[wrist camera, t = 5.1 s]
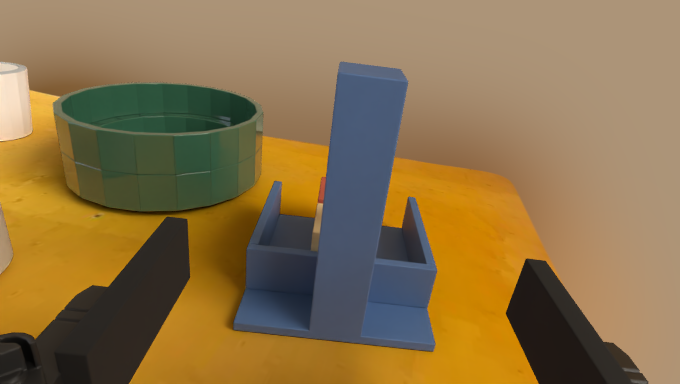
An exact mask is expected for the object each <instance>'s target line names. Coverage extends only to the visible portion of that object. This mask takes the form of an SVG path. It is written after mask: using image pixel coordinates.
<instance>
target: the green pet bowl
mask: <svg viewBox="0 0 680 384" xmlns="http://www.w3.org/2000/svg"><path fill="white" fill-rule="evenodd" d="M53 112H54V118H55V123H56V129H57V134H58V140H59V145H60V150H61V156H62V162H63V167H64V173H65V178H66V184H67V187H69V188H70V189H71V190H72V191H73V192H75V193H76V194H77V195H78V196H79V197H81V198H83V199H86V200H89V201H91V202H94V203H97V204H100V205H103V206H106V207H110V208H118V209H125V210H133V211H179V210H186V209H192V208H198V207H204V206H210V205H214V204H217V203H220V202H223V201H226V200H229V199H232V198H235V197H237V196H239V195H241V194H242V193H244V192H245V191H247V190H248V189H250V188H251V187H253V186H254V185H255V183H256V182H257V180H258V178H259V177H260V175H261V161H262V133H263V111H262V107H261V105H260V104H258V103H257V102H256V101H254V100H253V99H251V98H249V97H247V96H244V95H241V94H238V93H236V92H232V91H227V90H223V89H218V88H214V87H207V86H199V85H192V84H180V83H164V82H163V83H162V82H149V83H148V82H141V83H140V82H138V83H137V82H135V83H121V84H108V85H102V86H96V87H90V88H85V89H81V90H78V91H75V92H72V93H69V94H65V95H63V96H62V97H60V98H59V99H58V100H56V101H55V102H54V103H53Z"/></svg>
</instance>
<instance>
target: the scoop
mask: <svg viewBox="0 0 680 384" xmlns="http://www.w3.org/2000/svg"><path fill="white" fill-rule="evenodd" d="M407 86H408V81H407V79H406V77H405V76H404V74H403V73H402V71H401V70H400V69H395V68H387V67H379V66H371V65H363V64H356V63H347V62H340V64H339V69H338V75H337V84H336V94H335V102H334V111H333V121H332V129H331V138H330V147H329V156H328V164H327V173H326V182H325V191H324V200H323V209H322V218H321V227H320V236H319V245H318V252H317V251H311V243H312V233H313V227H314V221H315V218H309V217H301V216H292V215H283V214H280V202H281V186H282V182H279V181H274V184H273V186H272V189H271V191H270V193H269V196H268V198H267V201H266V203H265V205H264V208H263V210H262V213H261V215H260V218H259V220H258V222H257V225H256V227H255V230H254V232H253V234H252V237H251V239H250V242H249V244H248V247H247V250H246V289H245V292H244V294H243V297H242V300H241V303H240V305H239V308H238V311H237V314H236V316H235V319H234V322H233V329H234V330H239V331H248V332H257V333H266V334H275V335H285V336H294V337H303V338H312V339H321V340H331V341H340V342H349V343H358V344H367V345H377V346H386V347H395V348H404V349H413V350H423V351H432V352H433V351H434V348H435V341H434V337H433V332H432V328H431V324H430V319H429V315H428V311H427V307H428V303H429V300H430V296H431V292H432V288H433V285H434V281H435V277H436V273H437V268H436V265H435V261H434V258H433V255H432V251H431V248H430V245H429V242H428V238H427V235H426V232H425V228H424V225H423V222H422V219H421V215H420V212H419V209H418V205H417V202H416V199H415V198H414V197H408V200H407V205H406V210H405V215H404V219H403V224H402V228H395V227H387V226H382V221H383V215H384V210H385V205H386V199H387V194H388V188H389V183H390V178H391V172H392V167H393V161H394V156H395V151H396V145H397V140H398V134H399V129H400V124H401V118H402V113H403V107H404V102H405V97H406V91H407Z"/></svg>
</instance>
